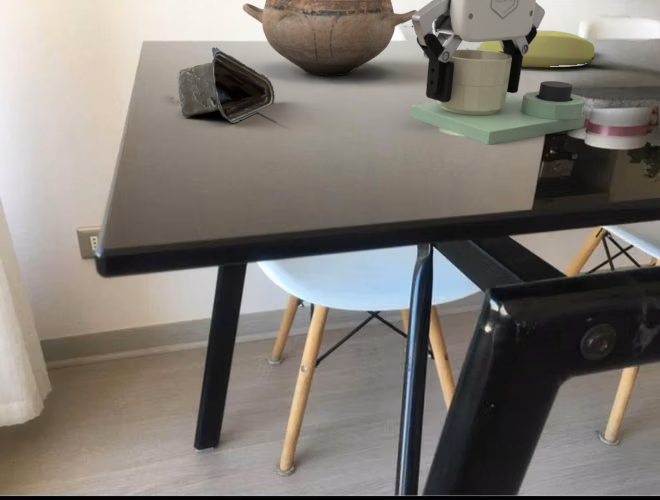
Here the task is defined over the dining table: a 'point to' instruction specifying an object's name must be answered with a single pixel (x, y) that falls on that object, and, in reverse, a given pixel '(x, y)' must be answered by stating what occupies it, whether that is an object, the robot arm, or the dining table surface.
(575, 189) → the dining table surface
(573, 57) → the banana
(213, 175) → the dining table surface
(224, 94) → the hollow triangular tube
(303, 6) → the cooking pot
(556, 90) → the button
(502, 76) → the beige faceted cup
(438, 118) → the scale
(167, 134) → the dining table surface
